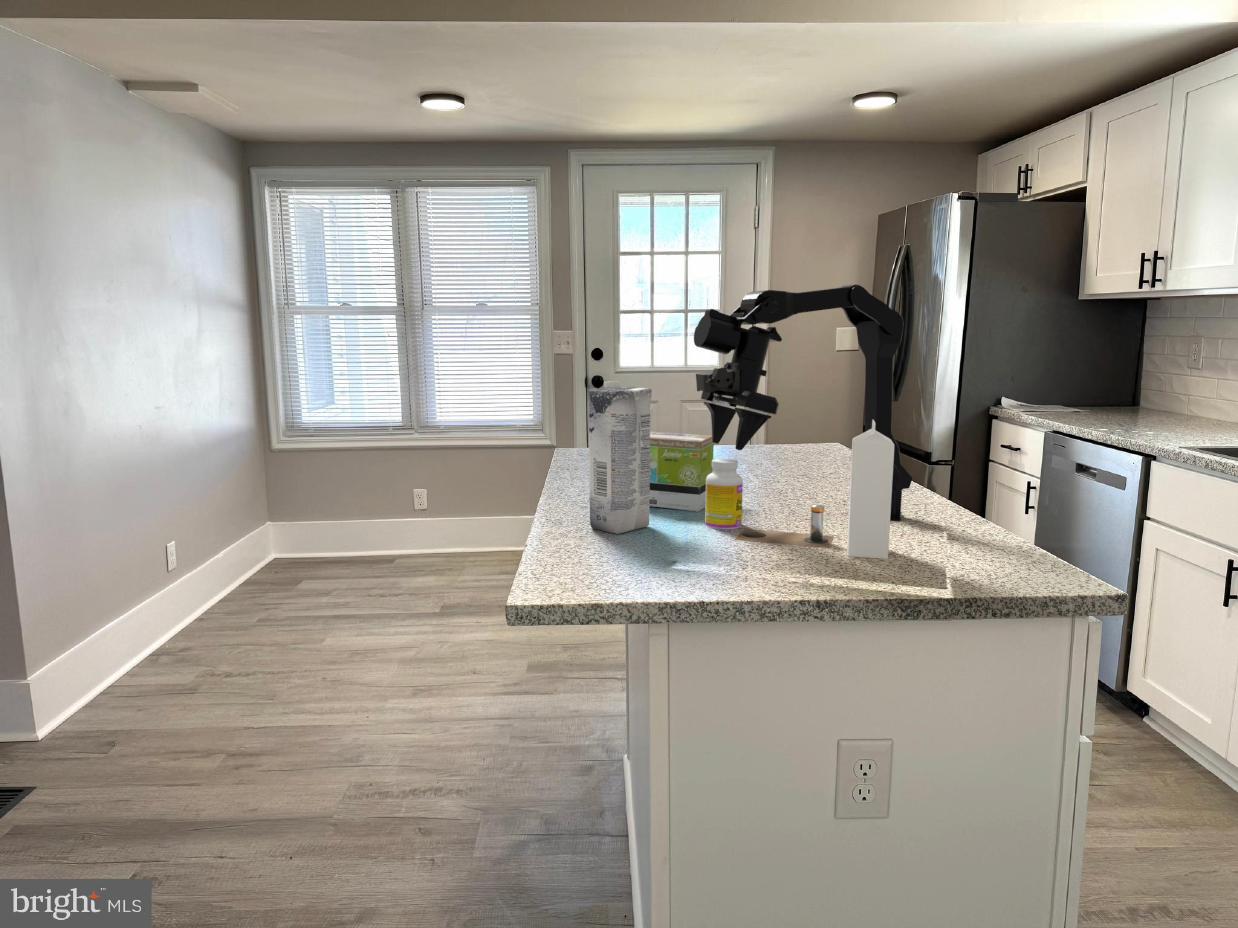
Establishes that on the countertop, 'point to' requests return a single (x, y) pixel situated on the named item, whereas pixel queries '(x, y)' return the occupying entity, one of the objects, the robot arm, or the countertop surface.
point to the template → (783, 538)
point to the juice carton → (619, 457)
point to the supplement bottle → (724, 495)
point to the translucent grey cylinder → (816, 523)
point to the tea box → (679, 470)
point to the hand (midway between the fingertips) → (726, 446)
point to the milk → (870, 495)
